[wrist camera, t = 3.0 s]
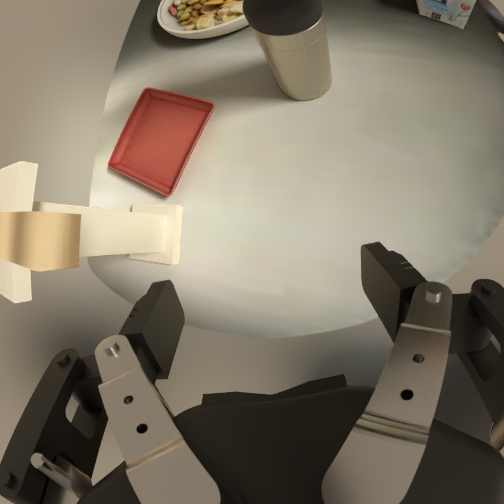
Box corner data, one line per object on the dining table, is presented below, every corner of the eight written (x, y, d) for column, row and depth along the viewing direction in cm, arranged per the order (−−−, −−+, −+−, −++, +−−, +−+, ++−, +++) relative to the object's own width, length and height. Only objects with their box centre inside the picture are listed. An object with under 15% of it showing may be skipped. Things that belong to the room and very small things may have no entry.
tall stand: (193, 200, 47) (20, 160, 16) (188, 270, 48) (14, 303, 17) (132, 200, 51) (-19, 178, 20) (127, 261, 52) (-24, 276, 21)
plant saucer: (223, 109, 45) (215, 101, 42) (179, 200, 48) (169, 198, 45) (153, 92, 50) (144, 86, 47) (117, 169, 53) (106, 166, 50)
